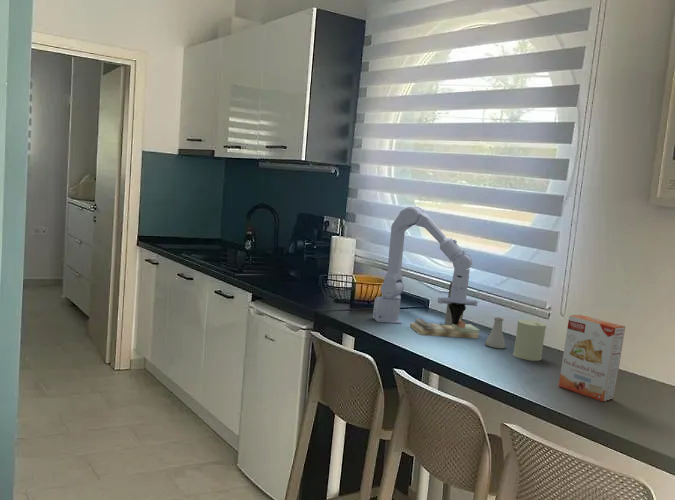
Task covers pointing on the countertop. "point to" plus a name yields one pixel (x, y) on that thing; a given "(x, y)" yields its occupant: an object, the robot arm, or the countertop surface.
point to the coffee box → (448, 313)
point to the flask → (496, 335)
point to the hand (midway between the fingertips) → (454, 324)
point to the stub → (465, 327)
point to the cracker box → (591, 357)
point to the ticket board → (439, 330)
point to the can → (529, 340)
